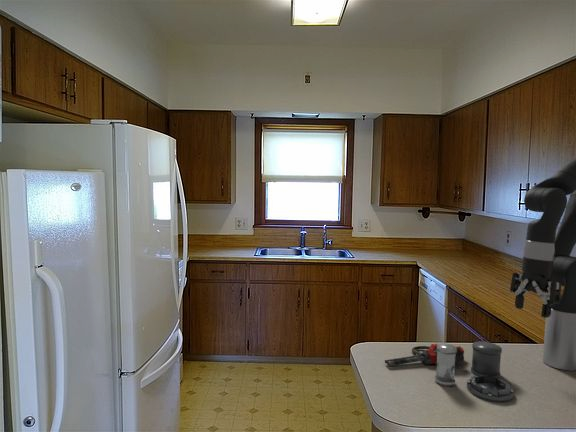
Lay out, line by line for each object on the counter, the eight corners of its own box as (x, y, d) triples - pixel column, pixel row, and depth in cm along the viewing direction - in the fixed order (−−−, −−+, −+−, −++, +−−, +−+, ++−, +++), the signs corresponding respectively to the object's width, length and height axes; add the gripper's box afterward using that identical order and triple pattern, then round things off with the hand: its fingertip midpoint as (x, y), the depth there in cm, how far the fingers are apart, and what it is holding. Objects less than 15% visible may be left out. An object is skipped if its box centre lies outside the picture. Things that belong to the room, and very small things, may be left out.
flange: (489, 378, 115) (490, 371, 115) (523, 398, 104) (524, 390, 104) (457, 384, 111) (458, 376, 111) (489, 405, 101) (490, 396, 101)
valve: (445, 353, 137) (475, 366, 122) (373, 364, 130) (396, 379, 116) (443, 334, 137) (473, 345, 122) (371, 343, 131) (394, 356, 116)
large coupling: (485, 366, 123) (487, 340, 122) (506, 377, 116) (508, 350, 115) (465, 369, 120) (466, 342, 120) (485, 381, 113) (486, 353, 113)
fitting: (446, 376, 116) (448, 342, 115) (459, 385, 111) (461, 349, 110) (431, 379, 114) (432, 344, 113) (443, 388, 109) (445, 351, 108)
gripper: (571, 262, 113) (564, 320, 114) (526, 253, 126) (520, 305, 127) (551, 261, 110) (544, 320, 111) (507, 252, 124) (501, 305, 125)
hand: (531, 312), depth 119 cm, fingers open, 8 cm apart
